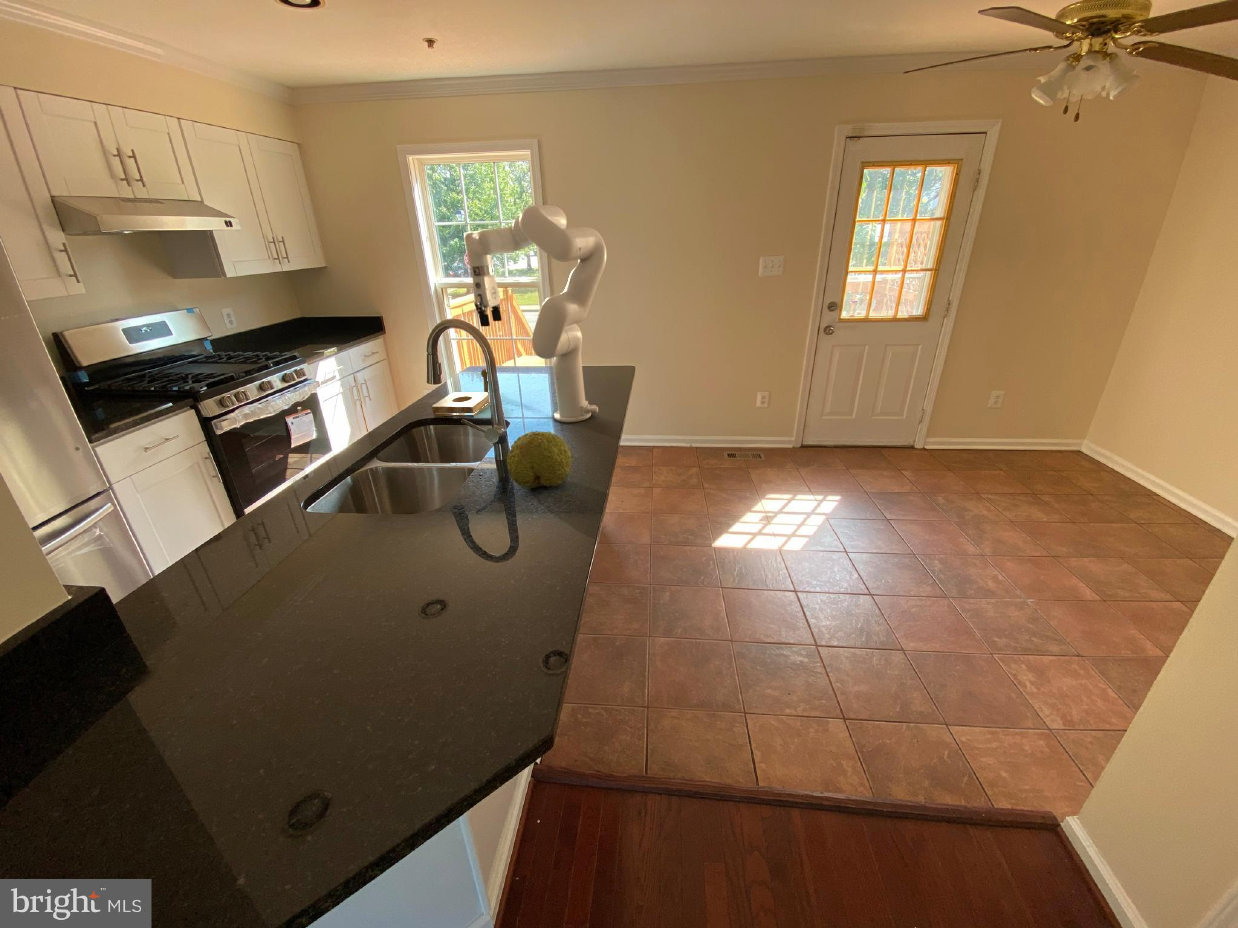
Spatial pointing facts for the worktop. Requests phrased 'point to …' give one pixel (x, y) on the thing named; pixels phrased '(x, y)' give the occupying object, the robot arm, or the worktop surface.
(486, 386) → the cork
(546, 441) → the fruit
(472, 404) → the stand
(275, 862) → the worktop surface
